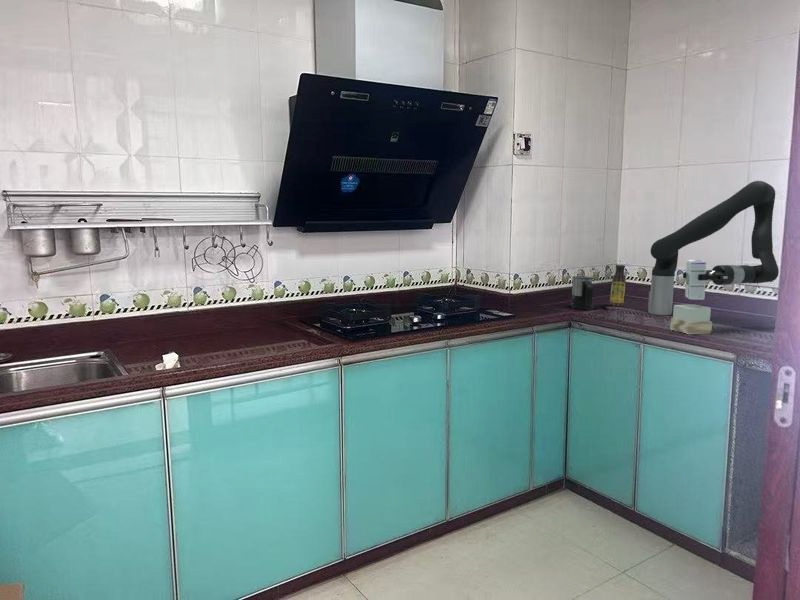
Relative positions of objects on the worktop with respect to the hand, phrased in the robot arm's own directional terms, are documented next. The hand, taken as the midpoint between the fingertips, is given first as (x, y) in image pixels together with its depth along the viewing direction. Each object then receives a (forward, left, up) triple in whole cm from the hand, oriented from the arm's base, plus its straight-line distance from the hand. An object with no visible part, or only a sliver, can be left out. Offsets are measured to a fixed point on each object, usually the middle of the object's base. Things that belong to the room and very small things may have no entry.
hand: (691, 276), depth 223 cm
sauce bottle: (-62, +12, -21) cm, 67 cm away
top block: (0, +2, -17) cm, 17 cm away
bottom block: (0, +2, -22) cm, 22 cm away
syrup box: (0, +2, -9) cm, 9 cm away
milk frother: (-57, -6, -22) cm, 61 cm away
